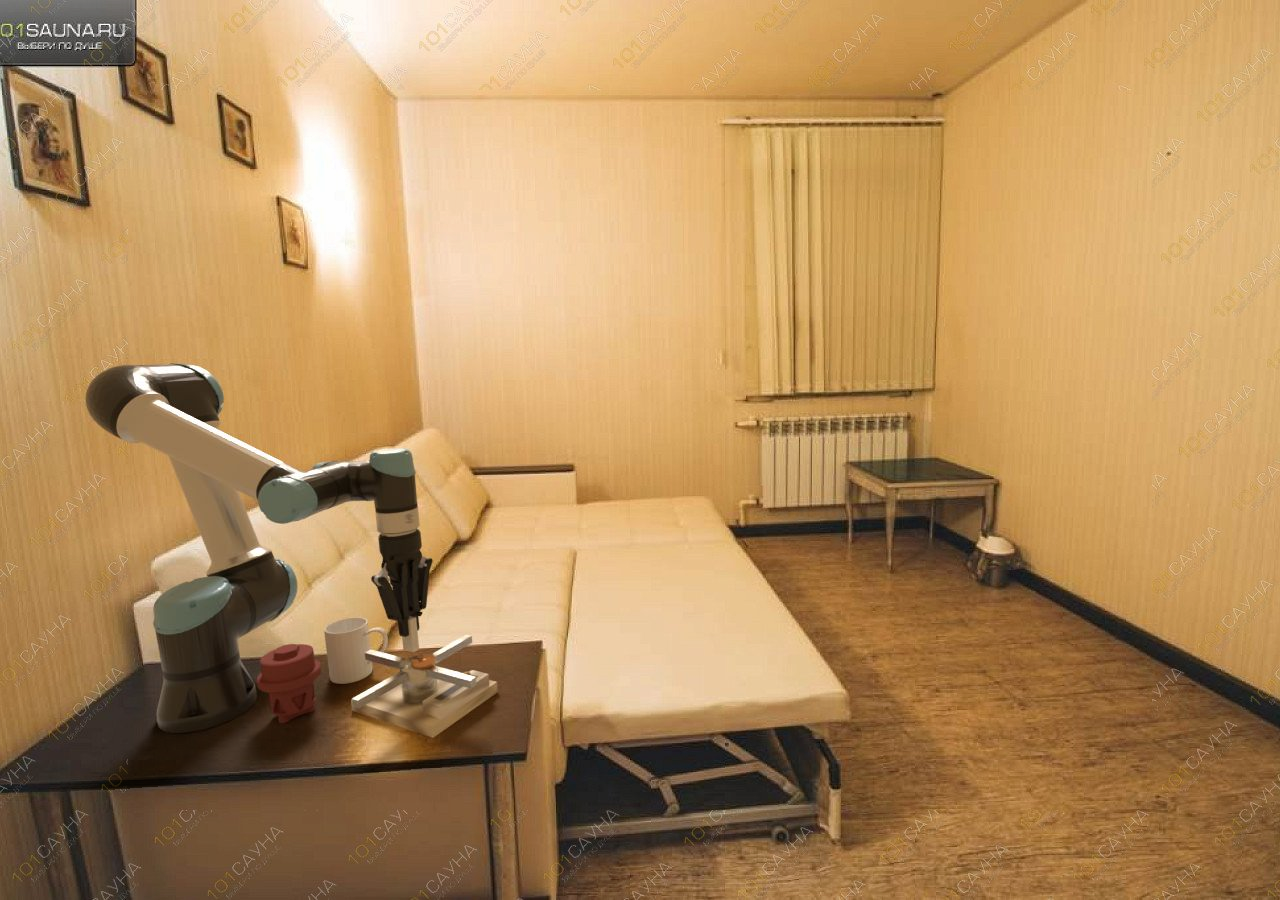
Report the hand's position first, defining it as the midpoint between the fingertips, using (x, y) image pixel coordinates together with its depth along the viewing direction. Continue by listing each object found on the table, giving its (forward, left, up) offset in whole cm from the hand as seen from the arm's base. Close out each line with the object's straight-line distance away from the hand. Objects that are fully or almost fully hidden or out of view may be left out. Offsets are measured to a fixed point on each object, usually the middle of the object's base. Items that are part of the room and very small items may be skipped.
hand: (411, 649), depth 125 cm
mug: (-12, -3, -7) cm, 14 cm away
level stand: (+8, -5, -7) cm, 11 cm away
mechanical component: (-11, -18, -7) cm, 22 cm away
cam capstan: (+9, -7, -4) cm, 12 cm away
